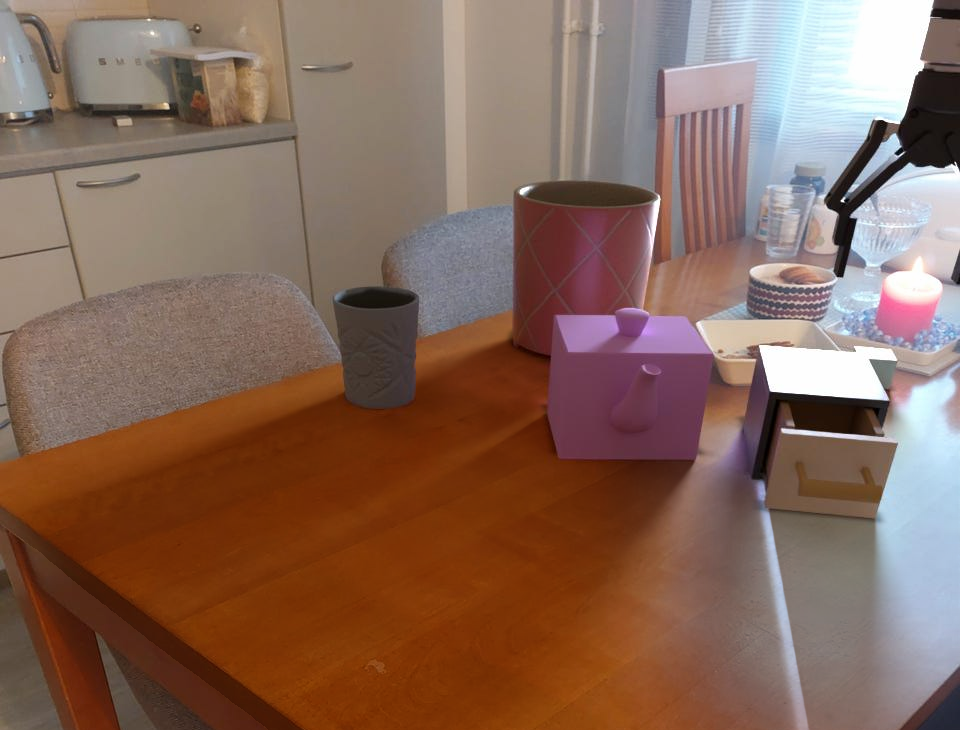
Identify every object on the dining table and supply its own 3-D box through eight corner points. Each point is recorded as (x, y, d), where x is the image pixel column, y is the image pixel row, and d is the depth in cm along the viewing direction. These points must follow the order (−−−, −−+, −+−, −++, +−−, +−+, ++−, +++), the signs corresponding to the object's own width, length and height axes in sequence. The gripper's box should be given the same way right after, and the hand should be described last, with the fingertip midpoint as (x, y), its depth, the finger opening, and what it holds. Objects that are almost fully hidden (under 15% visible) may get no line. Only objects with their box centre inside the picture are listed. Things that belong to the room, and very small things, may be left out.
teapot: (566, 488, 95) (577, 353, 87) (543, 398, 115) (550, 281, 107) (711, 489, 95) (736, 354, 87) (663, 399, 116) (680, 283, 107)
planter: (480, 345, 131) (483, 191, 119) (561, 317, 143) (571, 175, 131) (589, 379, 121) (604, 214, 109) (666, 345, 133) (688, 194, 121)
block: (881, 383, 122) (891, 349, 120) (887, 396, 119) (897, 360, 116) (845, 380, 123) (854, 346, 120) (850, 393, 119) (860, 357, 116)
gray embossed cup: (353, 415, 109) (347, 312, 102) (328, 386, 117) (321, 288, 110) (433, 404, 113) (432, 303, 106) (404, 377, 120) (401, 281, 113)
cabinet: (864, 489, 96) (890, 401, 91) (751, 479, 98) (769, 391, 92) (843, 434, 108) (865, 353, 102) (742, 426, 109) (758, 345, 104)
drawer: (886, 548, 84) (911, 470, 80) (769, 536, 86) (788, 458, 81) (853, 460, 100) (872, 390, 95) (755, 452, 101) (769, 382, 97)
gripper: (838, 66, 95) (793, 279, 108) (1094, 75, 93) (1017, 293, 105) (827, 61, 102) (785, 264, 114) (1067, 70, 99) (997, 276, 111)
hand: (897, 278), depth 110 cm, fingers open, 13 cm apart
